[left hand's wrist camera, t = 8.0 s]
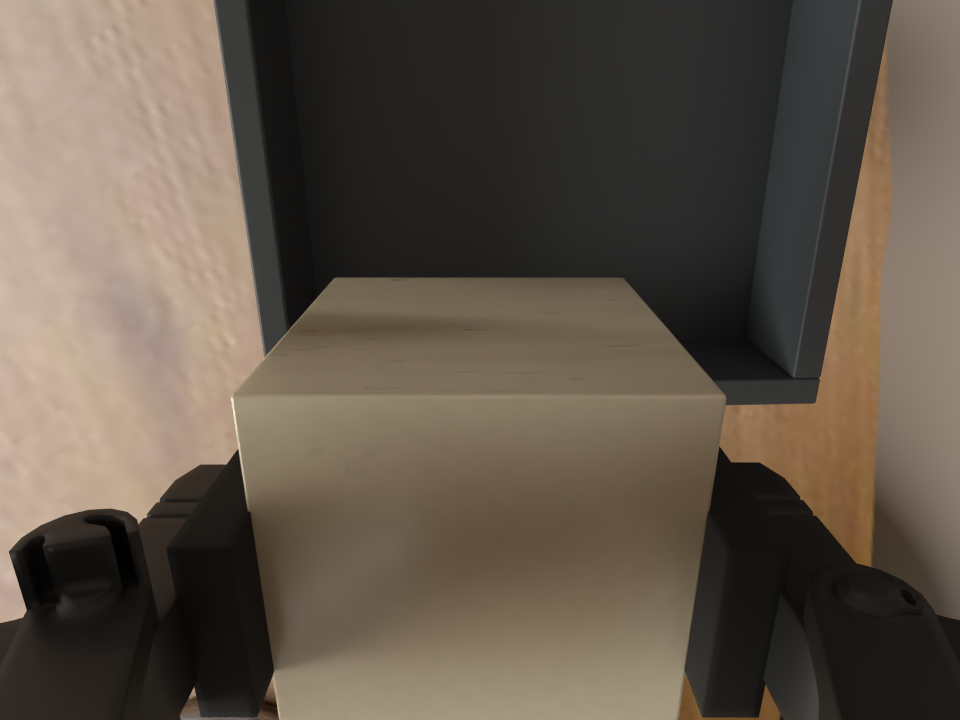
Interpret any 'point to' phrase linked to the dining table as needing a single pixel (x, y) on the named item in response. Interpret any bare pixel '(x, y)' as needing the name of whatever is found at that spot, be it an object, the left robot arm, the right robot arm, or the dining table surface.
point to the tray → (564, 157)
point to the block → (479, 501)
